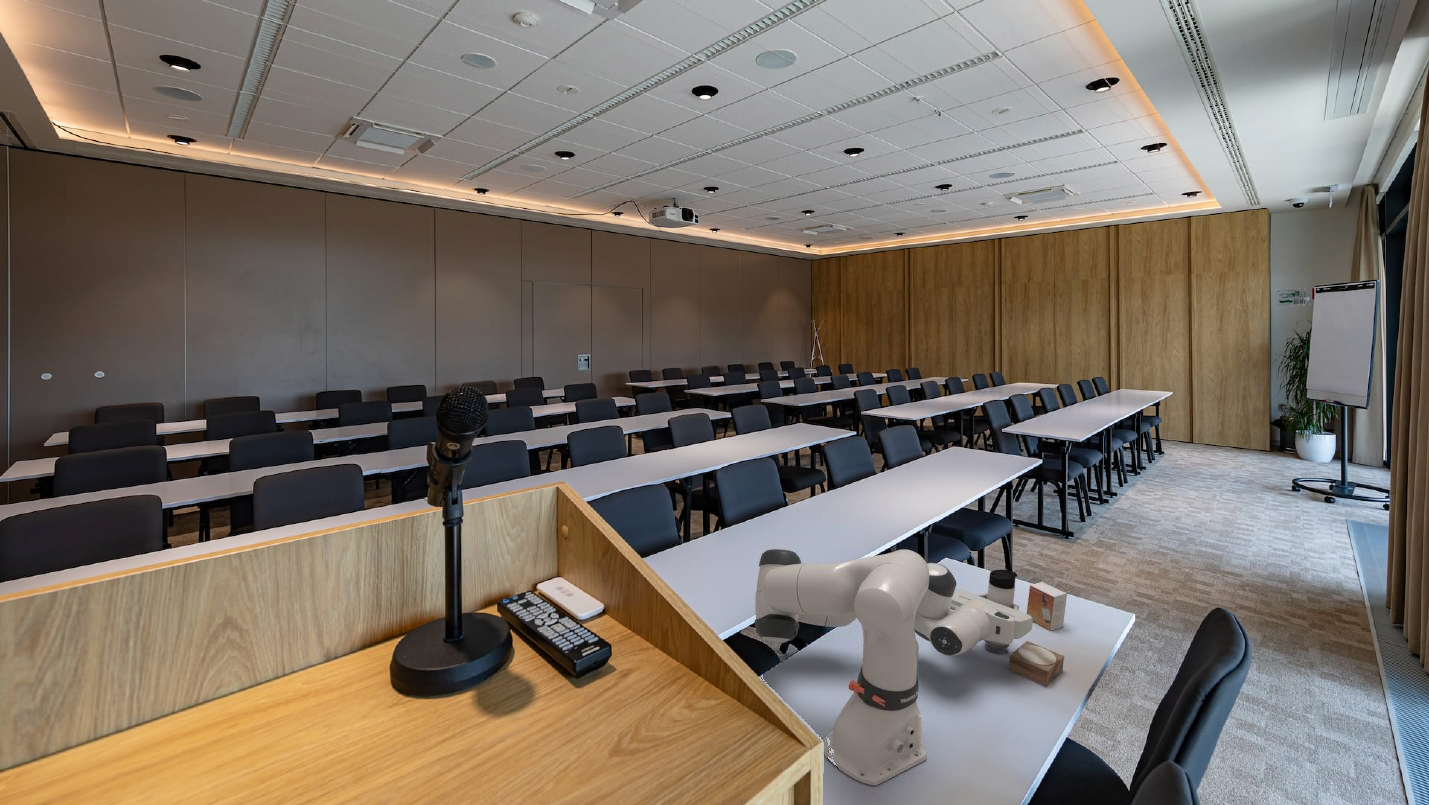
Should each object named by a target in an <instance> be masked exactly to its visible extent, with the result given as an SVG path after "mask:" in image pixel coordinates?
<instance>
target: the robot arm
mask: <svg viewBox="0 0 1429 805" xmlns="http://www.w3.org/2000/svg"><path fill="white" fill-rule="evenodd" d="M758 567H759V570H758V575H757V580H756V581H757V582H756V592H755V598H754V599H755V602H754V603H755V604H754V605H755V607H754V608H755V610H754V611H755V619H754V628H755V631H756V632H755V633H756V634H757V635H758V636H759V638H762V639H764V640H765V641H768V642H770V643H774V644H783V643H787V642H788V641H793V640H794V639H795V638H796V637H797V636H798V633H799V632H798V631H799V628H800V623H803V624H804V623H805V624H810V625H815V626H822V627H831V628H841V627H847V626H849V625H850V624H853V622H854V621H856V620H858V622H859V623H860V625H861V629H862V630H861V631H862V639H863V640H862V641H863V644H862V666H861V667H860V670H859V674H858V676H857V681H856V680H854V679H852V680H850V681H849V684H848V689H849V691H852V692H853V693H852V694H851V696H850V697H849V699H848V700H847V702H846V703H845V705H844V707H843V708H842V709H841V711H840V712H839V714H838V716H837V717H836V719H835V722H834V726H833V728H831V730H829V732H828V733H827V734H826V736H827V738H829V740H830V745H829V746H828V742H827V738H826V736H825V737H824V738H823V739H822V740H823V742H824V754H823V756H824V757H825V759H827V758H828V757H829V758H831V759H833V760H834V762H835V763H836V765H837V766H838V768H839V769H838V768H837V769H838V770H840V771H841V772H842V773H844V774H845V775H847V776H848V777H850V778H852V779H854V780H856V781H858V782H861V783H863V784H865V785H870V786H878V785H880V784H882V783H884V782H886V781H888V780H889V779H891V778H893V777H895V776H897V775H900V774H902V773H903V772H905V771H908V770H909V769H911V768H913V767H914V766H916V765H919V764H921V763H922V762H924V761H926V760H927V757H928V756H927V751H926V749H925V747H924V745H923V732H922V731H923V727H922V723H923V722H922V716H921V712H920V709H919V707H918V701H917V700H918V697H919V690H920V685H919V677H918V664H919V662H918V661H919V648H920V647H919V642H918V640H917V638H916V634H917V636H919V637H921V638H922V640H923V639H924V640H925V641H927V642H929V643H930V644H931V646H932V647H933V648H934V649H935V650H936V651H937V652H938V653H940V654H942V655H944V656H948V657H952V656H953V657H955V656H959V655H962V654H965V653H966V652H968V651H970V650H971V649H973V648H974V647H976V646H977V645H978V644H979V642H981V641H984V640H986V641H995V642H999V643H1003V644H1008V645H1009V646H1010V645H1012V643H1013V641H1014V640H1018V639H1021V638H1023V637H1025V636H1027V634H1029V633H1030V632H1031V631H1032V629H1033V624H1034V623H1033V622H1034V621H1033V619H1032V617H1031V616H1030V615H1028V614H1027V613H1025V612H1023V611H1020V605H1018V604H1015V603H1013V604H1012V605H1011V608H1009V607H1007V606H1004V605H1001V604H999V603H996V602H993V601H991V600H988V599H987V597H988V593H986V592H983V593H979V594H976V593H972V592H969V591H967V590H964V589H962V588H956V587H957V581H956V578H955V576H954V575H953V573H952V572H951V571H950V570H949V569H948V567H947V566H945V565H943V564H941V563H936V562H927V561H926V560H925V559H924V558H923V557H922V556H921V554H919V553H917V552H915V551H913V550H910V549H898V550H895V551H892V552H888V553H885V554H884V553H883V554H880V555H873V556H865V557H861V558H857V559H852V560H846V561H840V562H837V561H836V562H813V563H812V562H810V563H807V562H806V563H802V560H801V557H800V556H799V554H797V553H796V552H795V551H792V550H790V549H787V548H784V547H776V548H770V549H767V550H765V551H764V552H762V553H761V556H760V559H759V563H758ZM799 622H800V623H799ZM829 748H830V749H829ZM831 748H832V749H833V750H834V753H832V755H831V753H829V750H830V751H831ZM833 754H834V755H833ZM832 757H833V758H832Z"/></svg>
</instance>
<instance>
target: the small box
mask: <svg viewBox="0 0 1429 805" xmlns="http://www.w3.org/2000/svg"><path fill="white" fill-rule="evenodd" d="M1067 596H1068V593H1067V592H1065V591H1063V590H1060V589H1058V588H1056V587H1054V586H1052V585H1050V584H1047V583H1045V582H1044V581H1040V582H1036V583H1034V584H1030V585H1029V590H1028V598H1027V607H1026V614H1028V615H1030V616H1031V617H1032V619H1033V622H1034V623H1036V624H1038V625H1040V626H1041V627H1042V628H1044V629H1046V630H1047V629H1048V631H1049V632H1051V631H1053V630H1057V629H1060V627H1061V628H1063V627H1064V620H1065V615H1066V614H1065V613H1066V606H1067V605H1066V604H1067V598H1068V597H1067Z"/></svg>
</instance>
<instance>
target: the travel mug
mask: <svg viewBox="0 0 1429 805" xmlns="http://www.w3.org/2000/svg"><path fill="white" fill-rule="evenodd" d="M988 578H989V580H988V587H987V594H988V597H987V599H988V600H991V601H993V602H996V603H999V604H1001V605H1004V606H1007V607H1009V608H1011V605H1012V604H1014V602H1015V601H1014V599H1015V591H1016V590H1015V589H1016V579H1017V578H1018V574H1017V573H1016V571H1011V570H1008V569H994V570H991V571H990V573H989V577H988ZM983 641H984V643H986V645H988V646H989V647H992V648H994V649H999V650H1000V649H1001V650H1002V649H1003V650H1004V649H1007V648H1009V647H1010V644H1009V645H1008V644H1003V643H999V642H995V641H986V640H983Z"/></svg>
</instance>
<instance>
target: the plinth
mask: <svg viewBox="0 0 1429 805" xmlns="http://www.w3.org/2000/svg"><path fill="white" fill-rule="evenodd" d="M1064 660H1065V655H1062V654H1060V653H1057V652H1055V651H1053V650H1051V649H1048V648H1045V647H1043V646H1040V645H1038V644H1035V643H1034V642H1031V641H1029V640H1026V641H1025V642H1024V643H1023V644H1021V645H1020V646H1019V647H1018V648H1016V650H1014V651H1013V652H1012V653H1011V654H1009V660H1008V671H1011V672H1013V673H1016V675H1020V676H1021V677H1024V678H1027V679H1028V680H1031V681H1033V682H1034V683H1037V684H1039V685H1042V686H1044V687H1047V686H1048V685H1050V684H1051V683H1052V682H1053V681H1055V679H1056V678H1057V677H1058V676H1059V675H1060V674H1061V673H1062V672H1063V671H1064V670H1063V669H1064Z"/></svg>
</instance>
